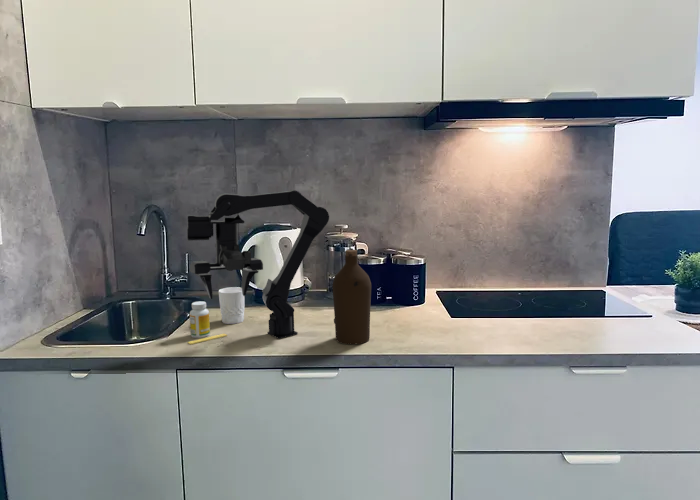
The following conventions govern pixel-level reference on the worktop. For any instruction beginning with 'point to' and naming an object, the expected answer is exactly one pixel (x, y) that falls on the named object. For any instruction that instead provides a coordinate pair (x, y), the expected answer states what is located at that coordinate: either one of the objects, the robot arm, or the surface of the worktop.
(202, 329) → the supplement bottle
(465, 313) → the worktop surface
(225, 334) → the yellow flat stick
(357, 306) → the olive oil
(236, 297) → the white cup
